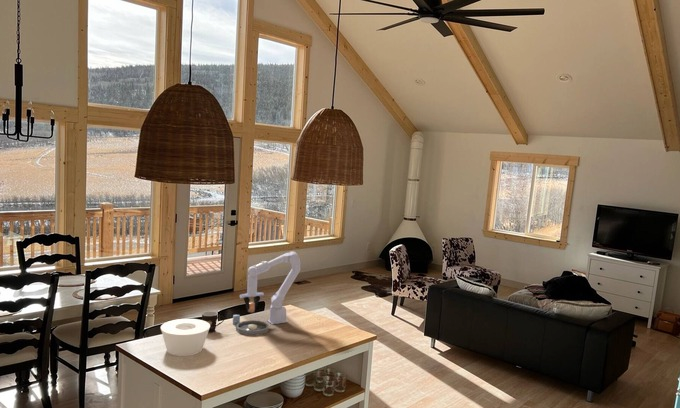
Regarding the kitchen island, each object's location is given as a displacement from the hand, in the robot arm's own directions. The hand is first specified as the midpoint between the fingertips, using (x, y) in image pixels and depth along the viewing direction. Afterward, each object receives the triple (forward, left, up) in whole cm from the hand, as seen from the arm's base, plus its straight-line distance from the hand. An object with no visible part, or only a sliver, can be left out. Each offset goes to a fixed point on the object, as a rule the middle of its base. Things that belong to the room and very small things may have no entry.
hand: (251, 308), depth 307 cm
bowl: (+46, +27, -8) cm, 54 cm away
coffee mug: (+26, +7, -8) cm, 28 cm away
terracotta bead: (0, 0, -2) cm, 2 cm away
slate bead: (+9, 0, -8) cm, 12 cm away
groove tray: (+4, +13, -8) cm, 16 cm away
